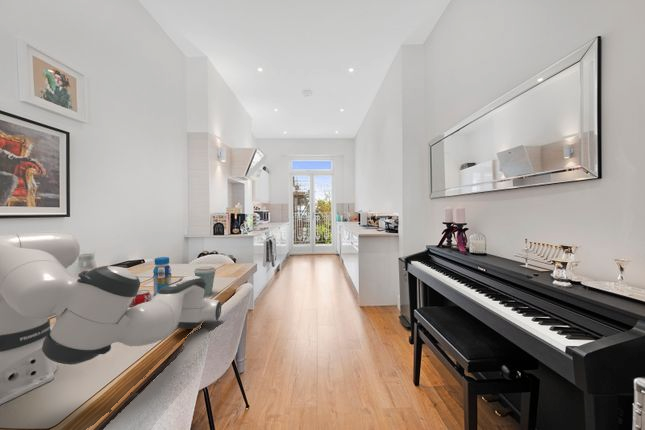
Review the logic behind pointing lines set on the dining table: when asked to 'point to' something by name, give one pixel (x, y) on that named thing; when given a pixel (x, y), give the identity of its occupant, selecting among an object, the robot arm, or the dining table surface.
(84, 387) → the dining table surface
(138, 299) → the soda can
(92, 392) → the dining table surface
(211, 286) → the disposable coffee cup
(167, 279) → the beverage bottle
